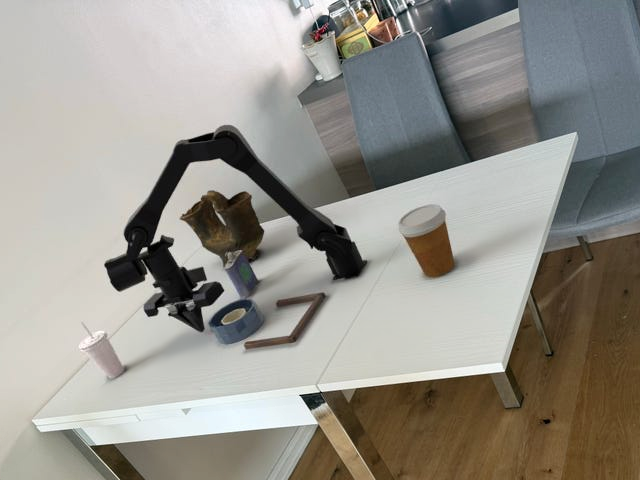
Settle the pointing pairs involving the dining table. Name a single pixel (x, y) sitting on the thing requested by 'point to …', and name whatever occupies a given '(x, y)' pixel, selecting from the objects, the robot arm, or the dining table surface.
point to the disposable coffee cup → (428, 239)
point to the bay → (317, 300)
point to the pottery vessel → (238, 219)
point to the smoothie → (101, 352)
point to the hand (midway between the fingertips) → (202, 331)
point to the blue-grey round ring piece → (240, 326)
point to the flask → (241, 273)
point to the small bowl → (233, 316)
